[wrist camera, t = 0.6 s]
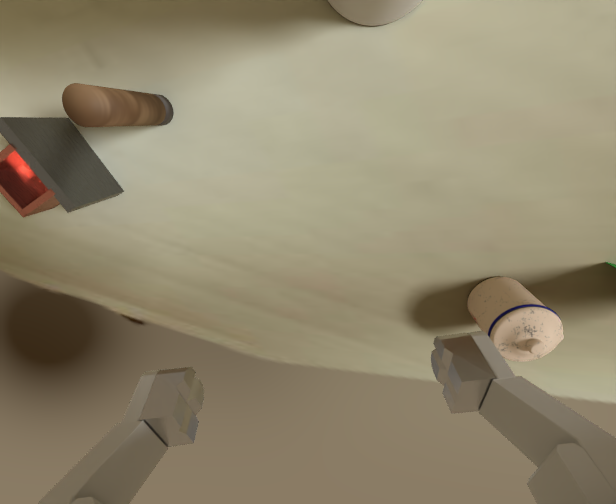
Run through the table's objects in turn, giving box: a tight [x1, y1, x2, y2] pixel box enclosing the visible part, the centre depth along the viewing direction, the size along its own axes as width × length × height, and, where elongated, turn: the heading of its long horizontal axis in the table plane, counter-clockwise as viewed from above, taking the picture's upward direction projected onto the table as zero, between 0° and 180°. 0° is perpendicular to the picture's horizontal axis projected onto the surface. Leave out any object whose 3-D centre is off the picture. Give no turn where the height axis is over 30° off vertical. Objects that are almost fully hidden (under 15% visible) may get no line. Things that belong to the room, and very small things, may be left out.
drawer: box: [0, 117, 124, 217], centre depth 42 cm, size 12×8×10 cm, turn 29°
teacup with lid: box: [467, 277, 564, 361], centre depth 43 cm, size 12×9×12 cm
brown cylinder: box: [62, 83, 173, 127], centre depth 36 cm, size 4×4×14 cm
